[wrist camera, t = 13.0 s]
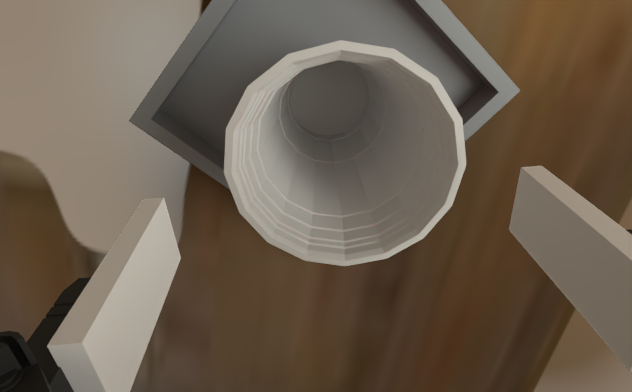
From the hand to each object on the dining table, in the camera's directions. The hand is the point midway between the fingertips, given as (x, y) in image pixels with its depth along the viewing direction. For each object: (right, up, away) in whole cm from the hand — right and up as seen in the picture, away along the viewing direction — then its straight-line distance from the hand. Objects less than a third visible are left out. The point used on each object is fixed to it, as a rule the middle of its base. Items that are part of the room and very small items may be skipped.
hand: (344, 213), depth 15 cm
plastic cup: (0, +8, +13) cm, 15 cm away
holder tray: (-1, +8, +14) cm, 16 cm away
